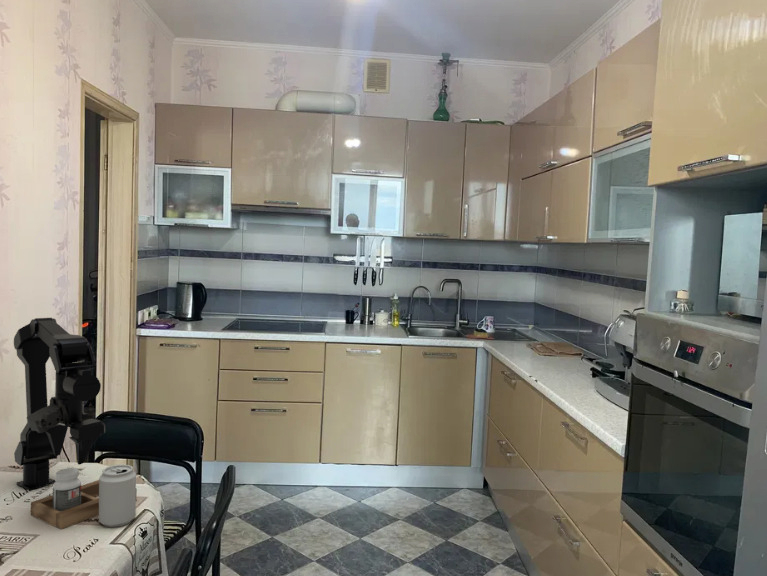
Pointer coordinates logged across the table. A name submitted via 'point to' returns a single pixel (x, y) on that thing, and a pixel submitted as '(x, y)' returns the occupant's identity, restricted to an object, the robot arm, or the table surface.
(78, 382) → the robot arm
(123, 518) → the can
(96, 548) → the table surface
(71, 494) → the pill bottle
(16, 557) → the table surface
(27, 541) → the table surface
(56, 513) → the wooden divided tray
